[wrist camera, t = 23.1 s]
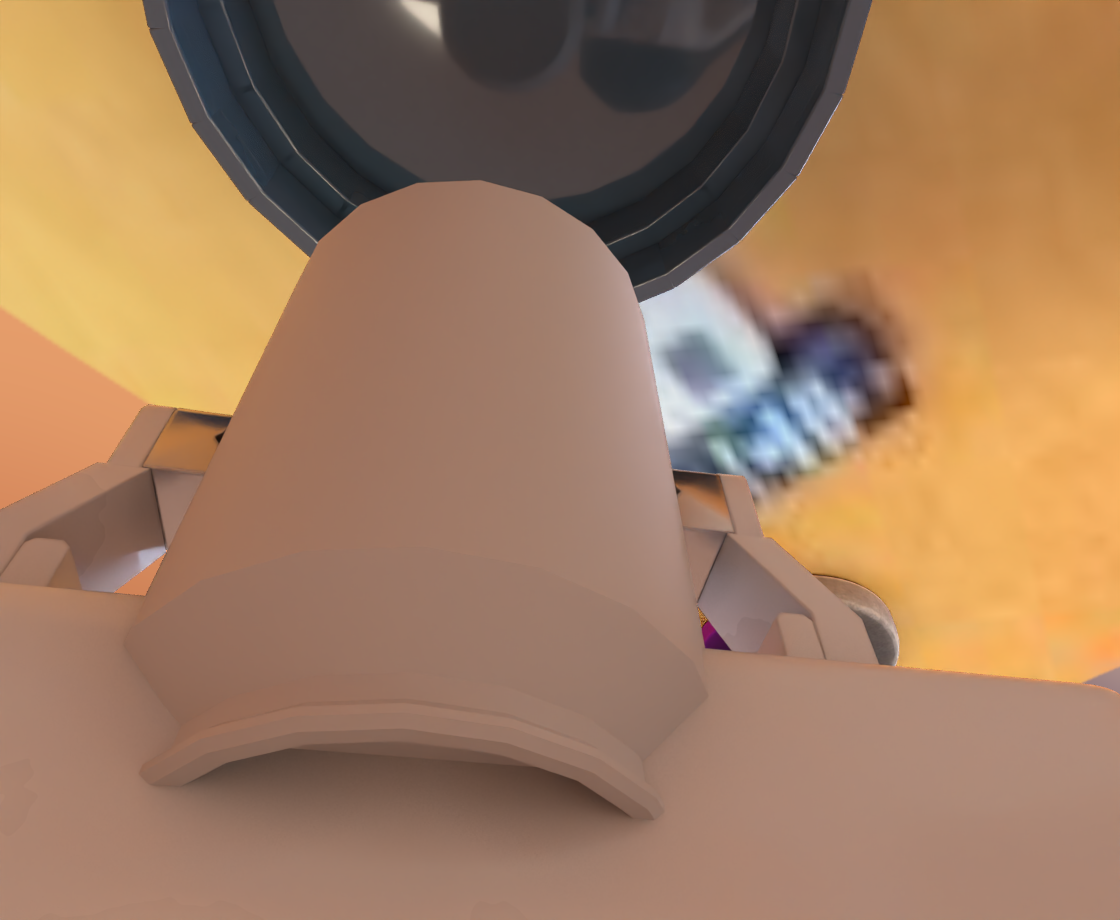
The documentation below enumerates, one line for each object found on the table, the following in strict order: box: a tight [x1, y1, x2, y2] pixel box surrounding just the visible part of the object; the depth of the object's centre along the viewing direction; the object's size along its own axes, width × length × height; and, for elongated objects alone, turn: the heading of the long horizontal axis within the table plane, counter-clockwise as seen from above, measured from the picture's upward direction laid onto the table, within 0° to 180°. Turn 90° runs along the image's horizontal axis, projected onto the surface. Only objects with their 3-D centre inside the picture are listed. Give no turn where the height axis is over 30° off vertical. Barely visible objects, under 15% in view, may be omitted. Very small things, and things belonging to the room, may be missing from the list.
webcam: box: [702, 575, 899, 666], centre depth 45 cm, size 13×13×15 cm
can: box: [124, 180, 709, 820], centre depth 14 cm, size 8×8×12 cm
